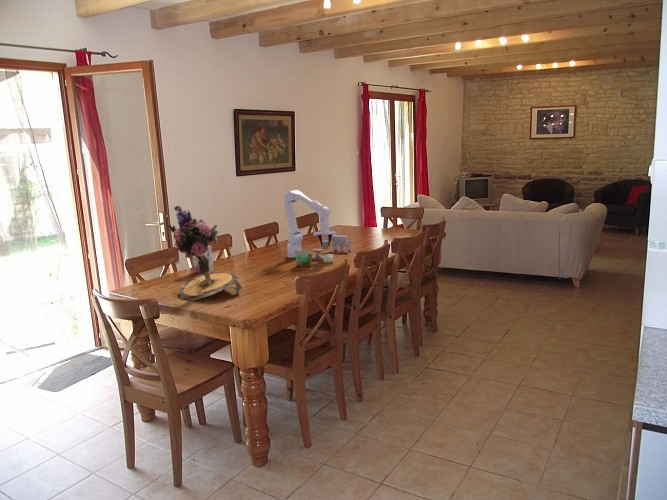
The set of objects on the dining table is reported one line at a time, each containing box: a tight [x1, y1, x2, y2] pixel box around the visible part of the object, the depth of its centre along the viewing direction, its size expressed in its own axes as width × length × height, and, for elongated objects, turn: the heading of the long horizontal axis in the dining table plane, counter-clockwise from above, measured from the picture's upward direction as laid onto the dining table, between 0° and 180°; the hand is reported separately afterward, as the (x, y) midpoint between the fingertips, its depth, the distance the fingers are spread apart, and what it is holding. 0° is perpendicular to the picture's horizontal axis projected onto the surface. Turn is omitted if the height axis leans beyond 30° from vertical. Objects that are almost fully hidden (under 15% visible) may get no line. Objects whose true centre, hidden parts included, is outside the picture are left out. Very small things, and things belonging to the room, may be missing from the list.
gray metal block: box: [321, 239, 330, 250], centre depth 346 cm, size 4×4×5 cm
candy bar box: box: [191, 245, 215, 274], centre depth 321 cm, size 11×5×16 cm, turn 74°
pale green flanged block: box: [323, 253, 334, 263], centre depth 342 cm, size 6×8×4 cm
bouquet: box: [168, 205, 243, 302], centre depth 275 cm, size 33×44×45 cm
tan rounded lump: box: [312, 248, 324, 261], centre depth 349 cm, size 8×8×6 cm
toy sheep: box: [323, 235, 352, 254], centre depth 371 cm, size 20×11×14 cm, turn 70°
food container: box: [294, 249, 314, 268], centre depth 329 cm, size 12×6×10 cm, turn 62°
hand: (325, 246), depth 347 cm, fingers closed on gray metal block, 4 cm apart
